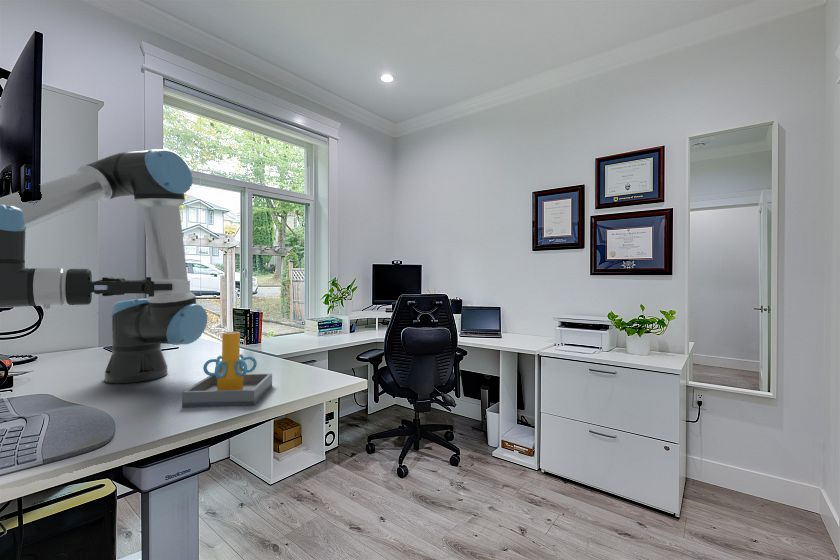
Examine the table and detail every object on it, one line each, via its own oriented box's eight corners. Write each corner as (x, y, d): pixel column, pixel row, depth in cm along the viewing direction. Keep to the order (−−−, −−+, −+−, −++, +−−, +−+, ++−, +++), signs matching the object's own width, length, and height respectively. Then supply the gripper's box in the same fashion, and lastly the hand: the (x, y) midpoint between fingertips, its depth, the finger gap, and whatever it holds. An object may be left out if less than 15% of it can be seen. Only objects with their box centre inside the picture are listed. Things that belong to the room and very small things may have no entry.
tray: (211, 387, 105) (211, 374, 105) (272, 386, 107) (272, 373, 107) (182, 407, 90) (182, 392, 90) (254, 405, 91) (254, 390, 91)
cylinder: (254, 383, 106) (255, 328, 106) (258, 394, 97) (259, 334, 97) (203, 388, 100) (204, 331, 100) (202, 400, 91) (203, 337, 91)
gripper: (73, 301, 90) (180, 298, 102) (57, 310, 70) (192, 305, 82) (73, 268, 89) (180, 270, 102) (56, 268, 69) (192, 269, 82)
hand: (186, 285), depth 92 cm, fingers open, 13 cm apart
